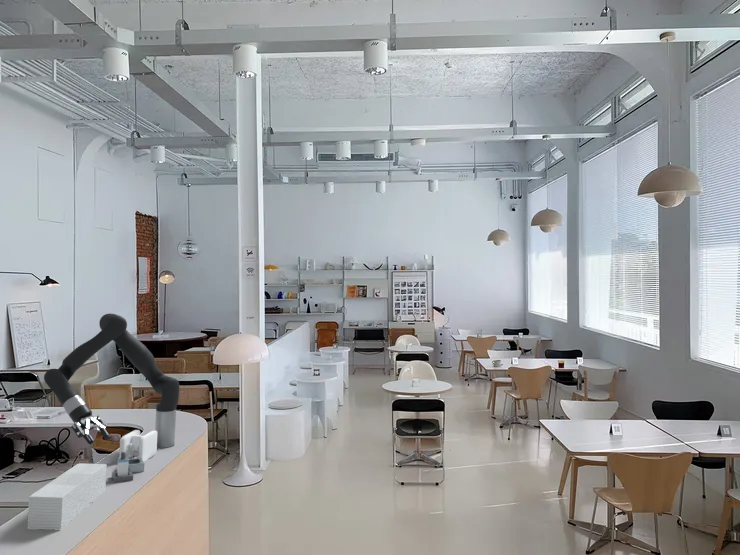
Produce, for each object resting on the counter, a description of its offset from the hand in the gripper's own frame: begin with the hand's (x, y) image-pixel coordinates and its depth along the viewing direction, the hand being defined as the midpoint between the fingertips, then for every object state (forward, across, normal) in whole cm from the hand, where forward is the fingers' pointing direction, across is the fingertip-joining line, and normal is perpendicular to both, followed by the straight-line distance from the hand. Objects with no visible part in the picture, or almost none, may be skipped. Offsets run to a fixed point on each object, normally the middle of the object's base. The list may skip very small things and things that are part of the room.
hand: (99, 440), depth 225 cm
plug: (+18, 0, +2) cm, 18 cm away
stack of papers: (+20, -29, +2) cm, 35 cm away
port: (+16, +10, +4) cm, 20 cm away
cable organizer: (+11, +24, +10) cm, 28 cm away
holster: (+18, 0, +2) cm, 19 cm away
